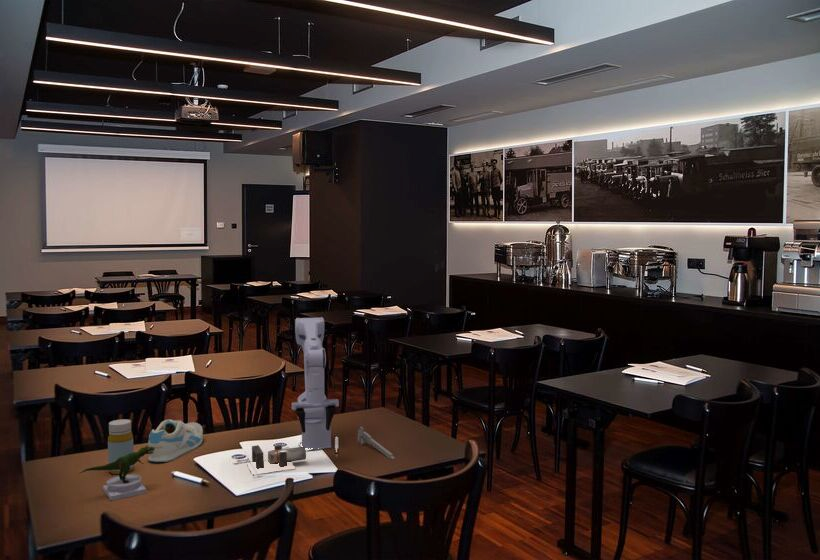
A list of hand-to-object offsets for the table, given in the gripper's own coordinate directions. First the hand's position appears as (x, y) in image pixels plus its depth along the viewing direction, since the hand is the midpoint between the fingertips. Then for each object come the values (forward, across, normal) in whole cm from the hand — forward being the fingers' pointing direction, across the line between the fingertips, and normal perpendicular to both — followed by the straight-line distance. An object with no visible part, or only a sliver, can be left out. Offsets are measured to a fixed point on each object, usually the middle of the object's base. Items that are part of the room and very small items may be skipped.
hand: (315, 430), depth 211 cm
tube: (+9, -9, 0) cm, 13 cm away
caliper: (+10, +21, +4) cm, 24 cm away
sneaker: (+10, -41, +27) cm, 50 cm away
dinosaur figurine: (+11, -57, -6) cm, 58 cm away
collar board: (+10, -14, 0) cm, 17 cm away
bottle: (+10, -57, +12) cm, 59 cm away
